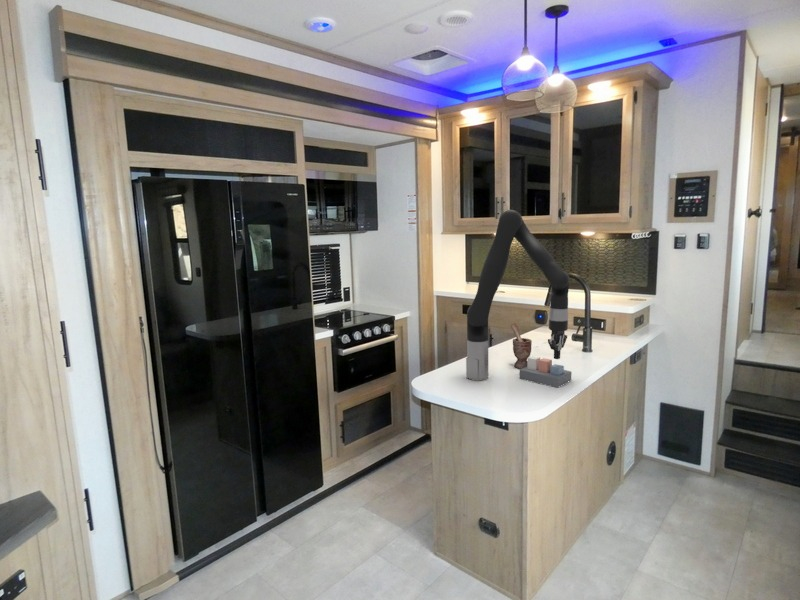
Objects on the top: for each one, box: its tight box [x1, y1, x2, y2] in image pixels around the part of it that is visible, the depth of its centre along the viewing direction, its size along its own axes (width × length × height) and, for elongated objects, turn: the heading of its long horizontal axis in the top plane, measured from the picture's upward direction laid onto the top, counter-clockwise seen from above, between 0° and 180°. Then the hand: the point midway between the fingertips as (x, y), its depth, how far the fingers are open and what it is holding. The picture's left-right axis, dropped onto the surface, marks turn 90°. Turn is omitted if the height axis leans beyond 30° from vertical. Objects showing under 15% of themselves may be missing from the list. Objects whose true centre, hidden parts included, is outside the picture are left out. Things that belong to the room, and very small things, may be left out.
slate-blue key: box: [550, 363, 565, 376], centre depth 203 cm, size 4×4×5 cm
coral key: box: [539, 357, 553, 373], centre depth 207 cm, size 4×4×5 cm
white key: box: [527, 355, 541, 370], centre depth 210 cm, size 4×4×5 cm
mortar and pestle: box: [510, 322, 533, 369], centre depth 226 cm, size 12×9×20 cm
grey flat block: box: [519, 367, 572, 388], centre depth 207 cm, size 12×18×4 cm, turn 45°
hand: (556, 358), depth 202 cm, fingers closed
